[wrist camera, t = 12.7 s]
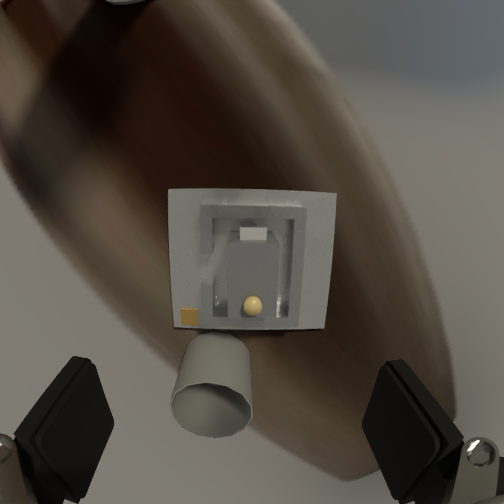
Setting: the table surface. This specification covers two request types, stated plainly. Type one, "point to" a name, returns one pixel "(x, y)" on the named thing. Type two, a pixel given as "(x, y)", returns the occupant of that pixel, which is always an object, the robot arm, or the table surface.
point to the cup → (213, 386)
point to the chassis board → (215, 254)
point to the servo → (252, 274)
